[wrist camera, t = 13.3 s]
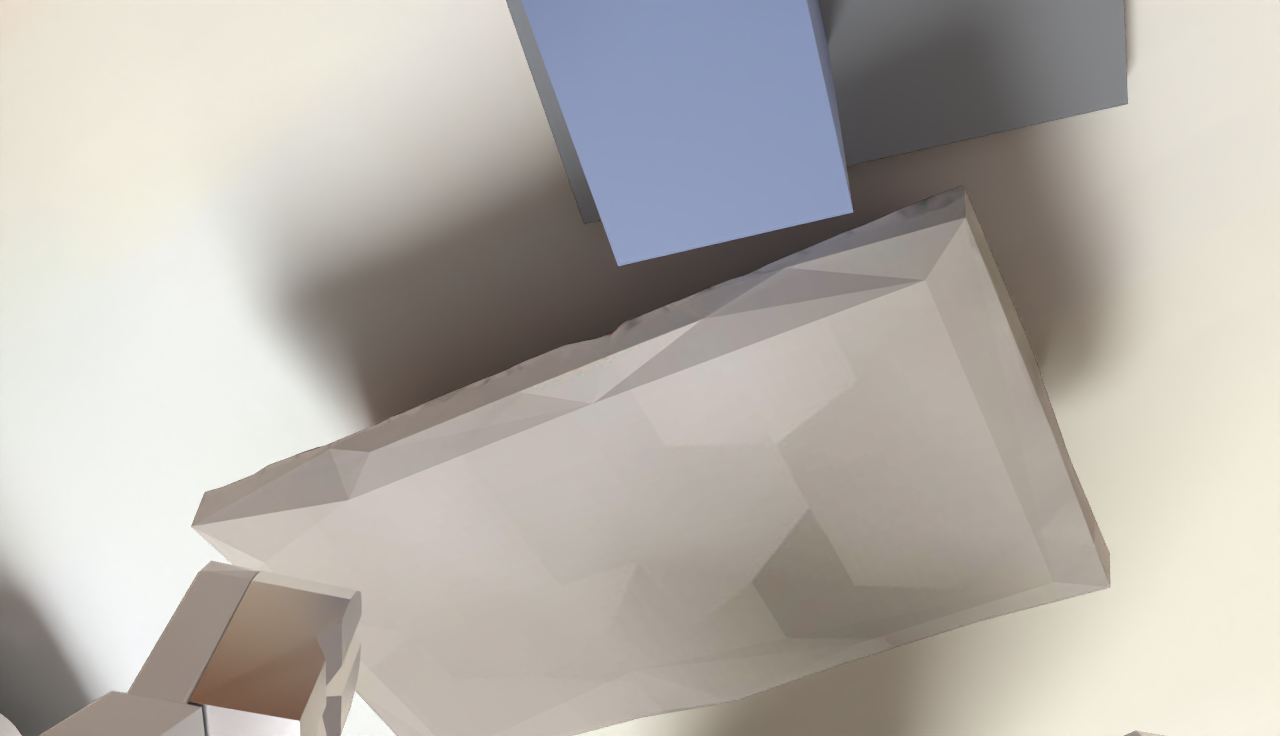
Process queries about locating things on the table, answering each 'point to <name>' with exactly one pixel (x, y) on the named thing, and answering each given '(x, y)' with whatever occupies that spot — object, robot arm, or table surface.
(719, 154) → the blue rectangular block
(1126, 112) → the table surface
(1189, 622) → the table surface
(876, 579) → the packaged product
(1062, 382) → the table surface
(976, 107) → the mat
